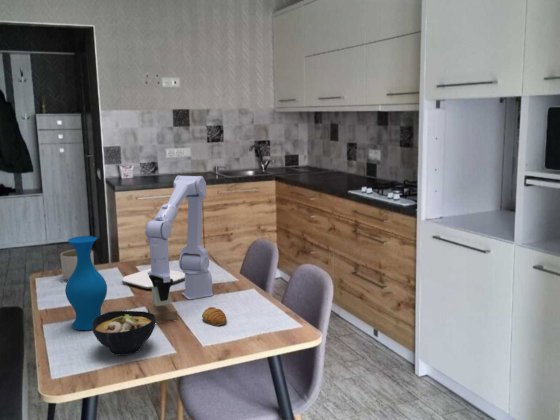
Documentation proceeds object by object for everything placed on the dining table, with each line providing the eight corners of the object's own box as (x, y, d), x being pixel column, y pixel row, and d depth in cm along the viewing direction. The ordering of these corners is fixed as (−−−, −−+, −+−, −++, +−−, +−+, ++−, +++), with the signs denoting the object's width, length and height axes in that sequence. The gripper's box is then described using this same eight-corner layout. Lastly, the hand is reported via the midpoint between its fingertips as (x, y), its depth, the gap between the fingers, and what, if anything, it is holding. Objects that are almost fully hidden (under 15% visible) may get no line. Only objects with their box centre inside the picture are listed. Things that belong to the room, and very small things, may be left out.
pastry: (232, 324, 172) (231, 312, 171) (213, 329, 168) (212, 317, 168) (218, 315, 180) (217, 304, 179) (199, 320, 176) (199, 308, 175)
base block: (172, 313, 182) (171, 303, 182) (177, 321, 175) (177, 311, 175) (148, 317, 179) (147, 306, 179) (152, 325, 172) (152, 314, 171)
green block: (166, 299, 179) (165, 285, 178) (170, 303, 175) (169, 288, 174) (152, 302, 177) (151, 287, 176) (156, 306, 173) (155, 291, 172)
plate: (157, 271, 231) (156, 266, 231) (191, 279, 219) (191, 274, 219) (117, 283, 215) (116, 278, 214) (152, 293, 203) (152, 287, 202)
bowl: (120, 333, 165) (118, 302, 163) (168, 342, 159) (167, 309, 157) (80, 356, 150) (77, 322, 148) (131, 367, 143) (129, 331, 141)
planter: (72, 273, 228) (70, 248, 226) (100, 274, 226) (98, 249, 224) (56, 282, 216) (54, 256, 214) (85, 283, 214) (83, 257, 212)
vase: (89, 315, 180) (83, 233, 175) (117, 322, 174) (112, 237, 170) (59, 328, 170) (52, 241, 165) (88, 335, 164) (81, 245, 159)
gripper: (141, 254, 178) (143, 293, 180) (153, 264, 165) (155, 307, 168) (162, 251, 181) (164, 290, 184) (175, 261, 169) (177, 303, 171)
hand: (161, 298), depth 176 cm, fingers closed on green block, 4 cm apart
